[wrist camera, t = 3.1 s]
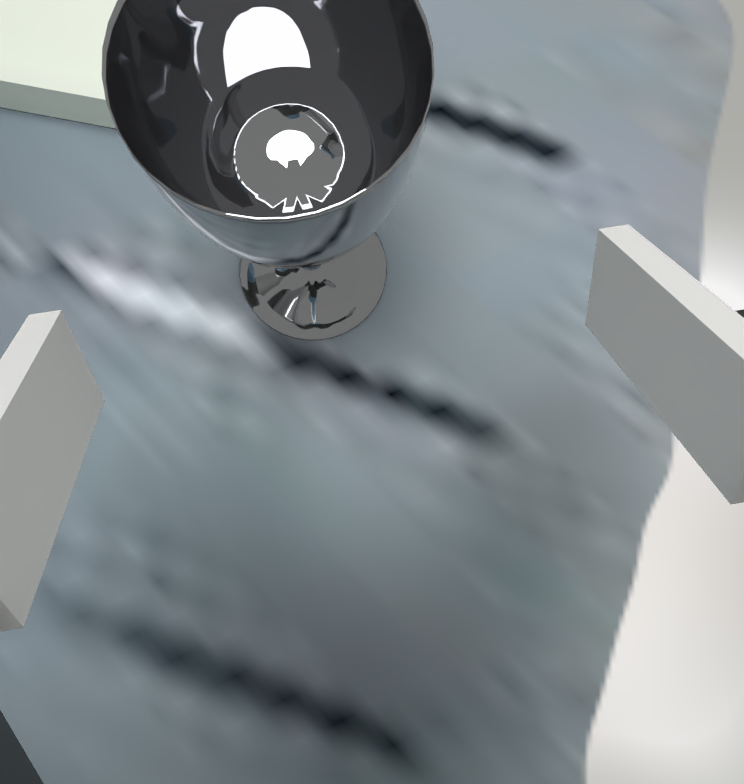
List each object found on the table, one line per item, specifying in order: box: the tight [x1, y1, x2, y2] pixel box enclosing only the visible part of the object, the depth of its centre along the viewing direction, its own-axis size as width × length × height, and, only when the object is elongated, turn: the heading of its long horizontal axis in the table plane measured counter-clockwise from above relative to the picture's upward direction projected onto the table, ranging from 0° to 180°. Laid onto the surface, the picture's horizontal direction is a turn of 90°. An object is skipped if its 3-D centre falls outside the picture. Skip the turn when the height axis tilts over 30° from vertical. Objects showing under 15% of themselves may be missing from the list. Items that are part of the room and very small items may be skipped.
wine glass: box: [102, 0, 434, 340], centre depth 22 cm, size 8×8×15 cm
